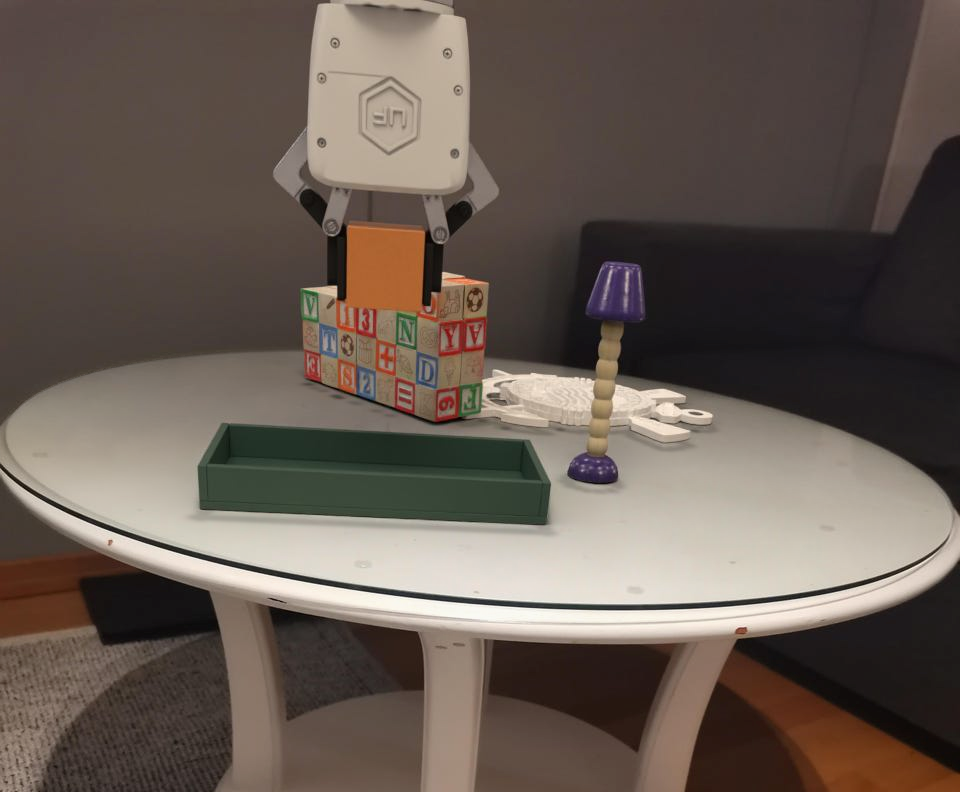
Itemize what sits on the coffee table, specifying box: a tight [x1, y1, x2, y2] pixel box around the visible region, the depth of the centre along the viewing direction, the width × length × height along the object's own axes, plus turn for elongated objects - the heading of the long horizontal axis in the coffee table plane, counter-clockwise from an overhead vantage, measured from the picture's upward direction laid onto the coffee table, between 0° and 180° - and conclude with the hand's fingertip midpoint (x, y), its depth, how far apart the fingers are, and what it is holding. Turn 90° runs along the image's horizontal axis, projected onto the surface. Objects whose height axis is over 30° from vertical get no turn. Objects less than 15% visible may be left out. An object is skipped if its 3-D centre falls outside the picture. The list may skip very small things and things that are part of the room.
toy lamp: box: [567, 261, 646, 484], centre depth 78 cm, size 5×5×17 cm
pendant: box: [460, 369, 714, 444], centre depth 103 cm, size 21×28×1 cm
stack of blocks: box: [300, 271, 490, 423], centre depth 97 cm, size 21×6×12 cm, turn 44°
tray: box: [197, 422, 552, 525], centre depth 72 cm, size 24×11×3 cm, turn 95°
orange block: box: [346, 220, 426, 312], centre depth 66 cm, size 5×5×5 cm
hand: (384, 297), depth 67 cm, fingers closed on orange block, 5 cm apart
